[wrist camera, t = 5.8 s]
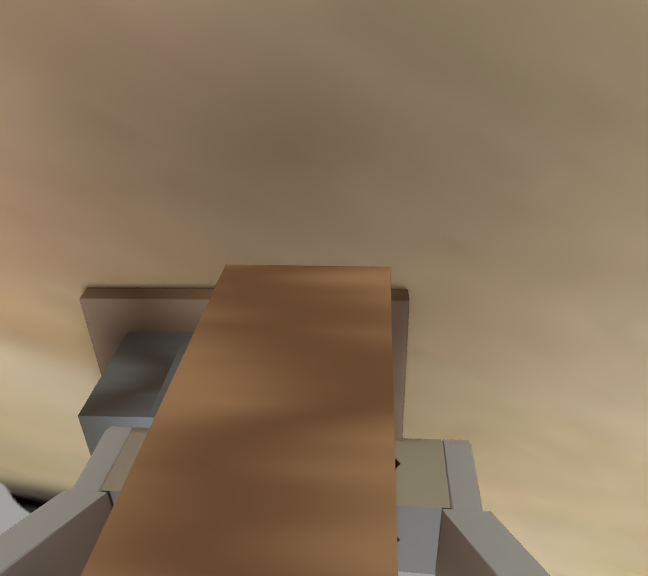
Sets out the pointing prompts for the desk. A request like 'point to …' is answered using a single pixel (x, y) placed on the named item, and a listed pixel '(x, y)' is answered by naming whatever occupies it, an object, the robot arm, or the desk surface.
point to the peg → (269, 437)
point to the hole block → (169, 352)
